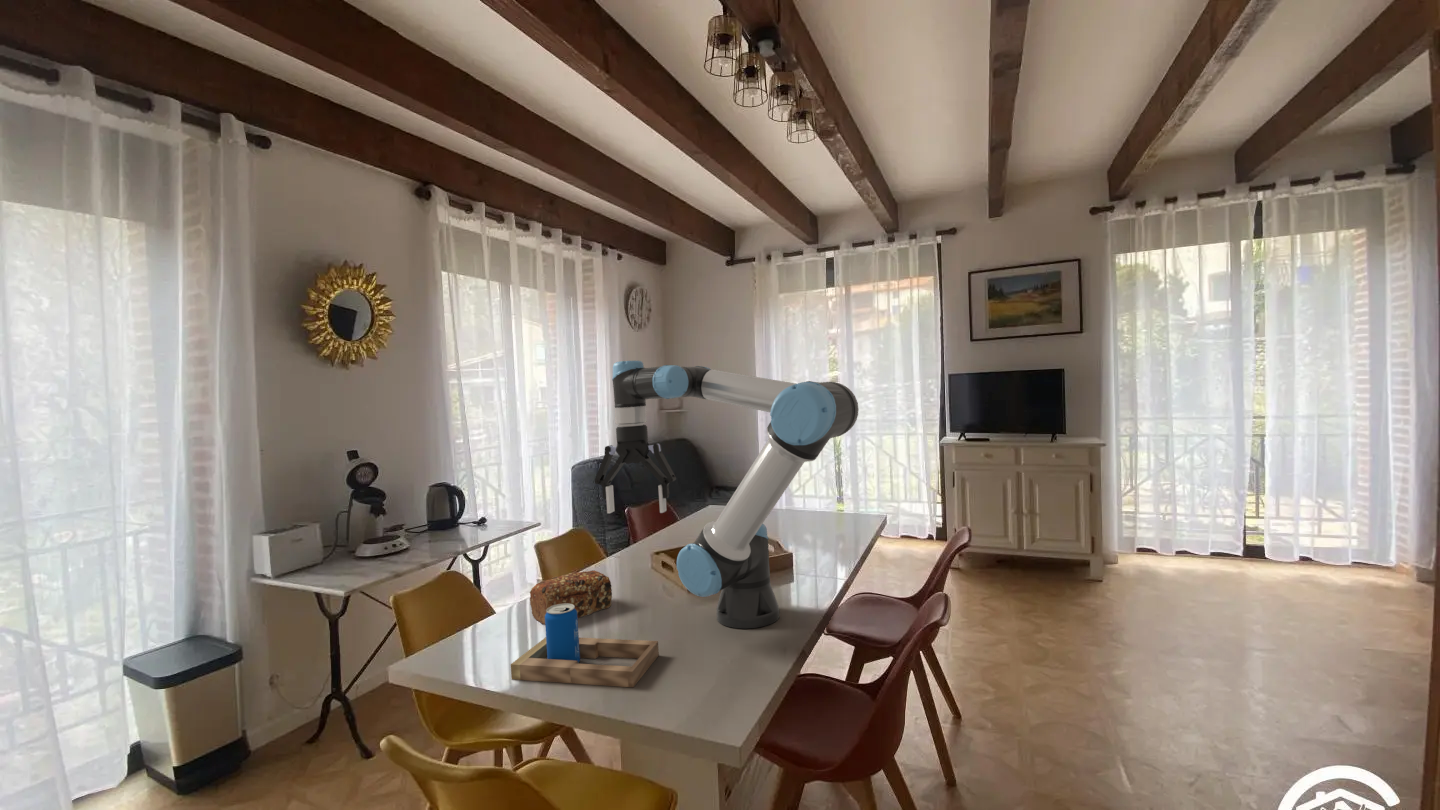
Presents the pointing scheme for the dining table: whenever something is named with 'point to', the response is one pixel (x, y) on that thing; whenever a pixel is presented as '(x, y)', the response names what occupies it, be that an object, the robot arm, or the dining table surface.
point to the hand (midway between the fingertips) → (636, 512)
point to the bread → (572, 593)
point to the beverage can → (562, 632)
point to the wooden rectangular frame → (570, 671)
